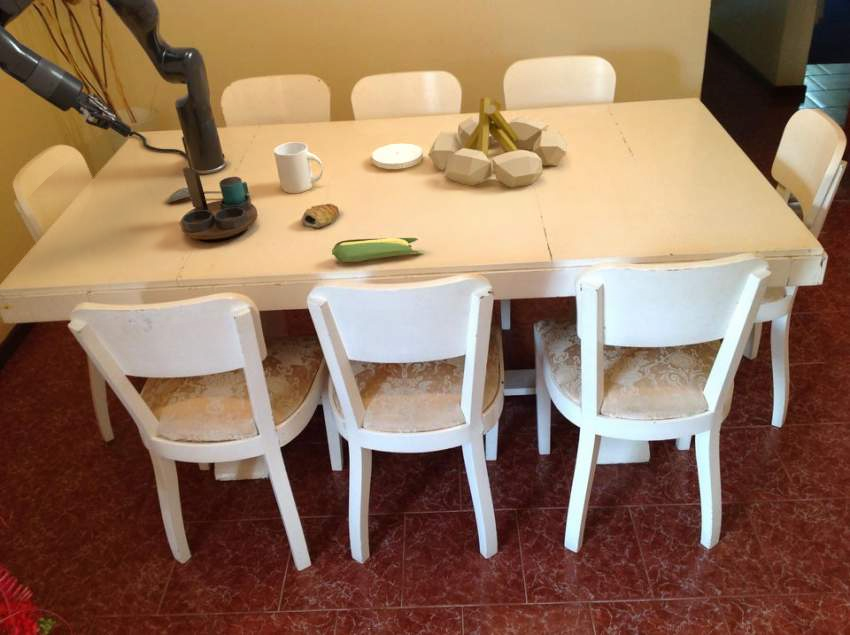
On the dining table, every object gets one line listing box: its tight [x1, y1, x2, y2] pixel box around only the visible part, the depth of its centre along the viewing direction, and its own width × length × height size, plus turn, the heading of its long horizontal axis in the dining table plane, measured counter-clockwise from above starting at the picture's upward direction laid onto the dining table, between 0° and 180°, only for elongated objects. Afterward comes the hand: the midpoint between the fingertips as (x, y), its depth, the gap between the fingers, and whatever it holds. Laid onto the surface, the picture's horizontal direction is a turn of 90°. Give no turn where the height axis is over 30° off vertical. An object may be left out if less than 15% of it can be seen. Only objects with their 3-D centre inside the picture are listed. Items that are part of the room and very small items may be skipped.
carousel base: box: [197, 227, 250, 244], centre depth 175 cm, size 13×13×2 cm
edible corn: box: [331, 237, 425, 264], centre depth 158 cm, size 5×20×5 cm, turn 94°
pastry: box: [300, 203, 340, 229], centre depth 175 cm, size 9×7×4 cm
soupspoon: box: [167, 187, 251, 203], centre depth 190 cm, size 22×3×7 cm
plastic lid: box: [371, 142, 424, 170], centre depth 201 cm, size 14×14×2 cm
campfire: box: [427, 97, 568, 189], centre depth 192 cm, size 35×34×17 cm
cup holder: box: [179, 166, 259, 240], centre depth 172 cm, size 19×18×11 cm
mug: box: [273, 141, 324, 194], centre depth 190 cm, size 9×12×11 cm
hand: (129, 132), depth 163 cm, fingers closed
